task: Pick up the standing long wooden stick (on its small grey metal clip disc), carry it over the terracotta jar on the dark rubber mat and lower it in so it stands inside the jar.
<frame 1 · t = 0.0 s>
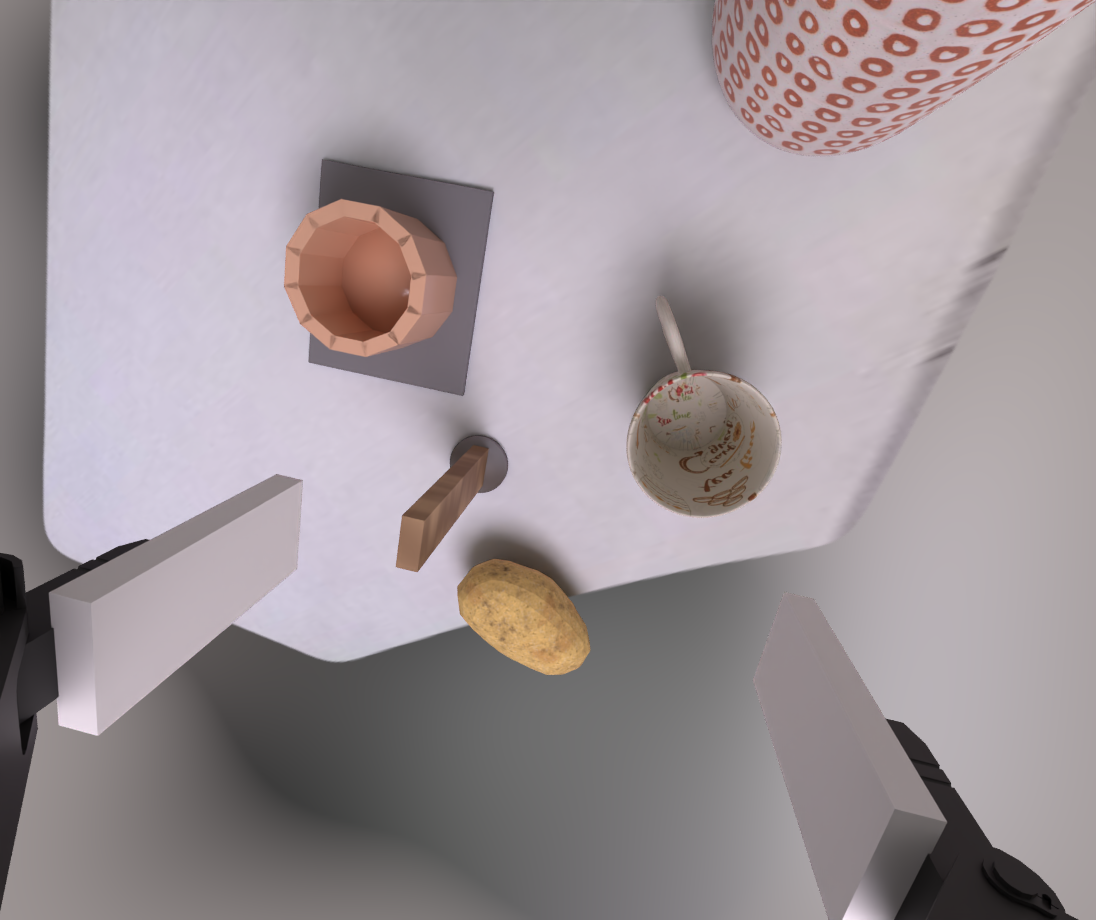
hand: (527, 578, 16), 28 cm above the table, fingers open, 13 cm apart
potato: (533, 593, 48), on the table
jar: (394, 282, 42), resting on mat
mug: (677, 383, 41), on the table
long wooden stick: (479, 463, 45), on the table
mat: (397, 282, 42), on the table
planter: (815, 50, 35), on the table
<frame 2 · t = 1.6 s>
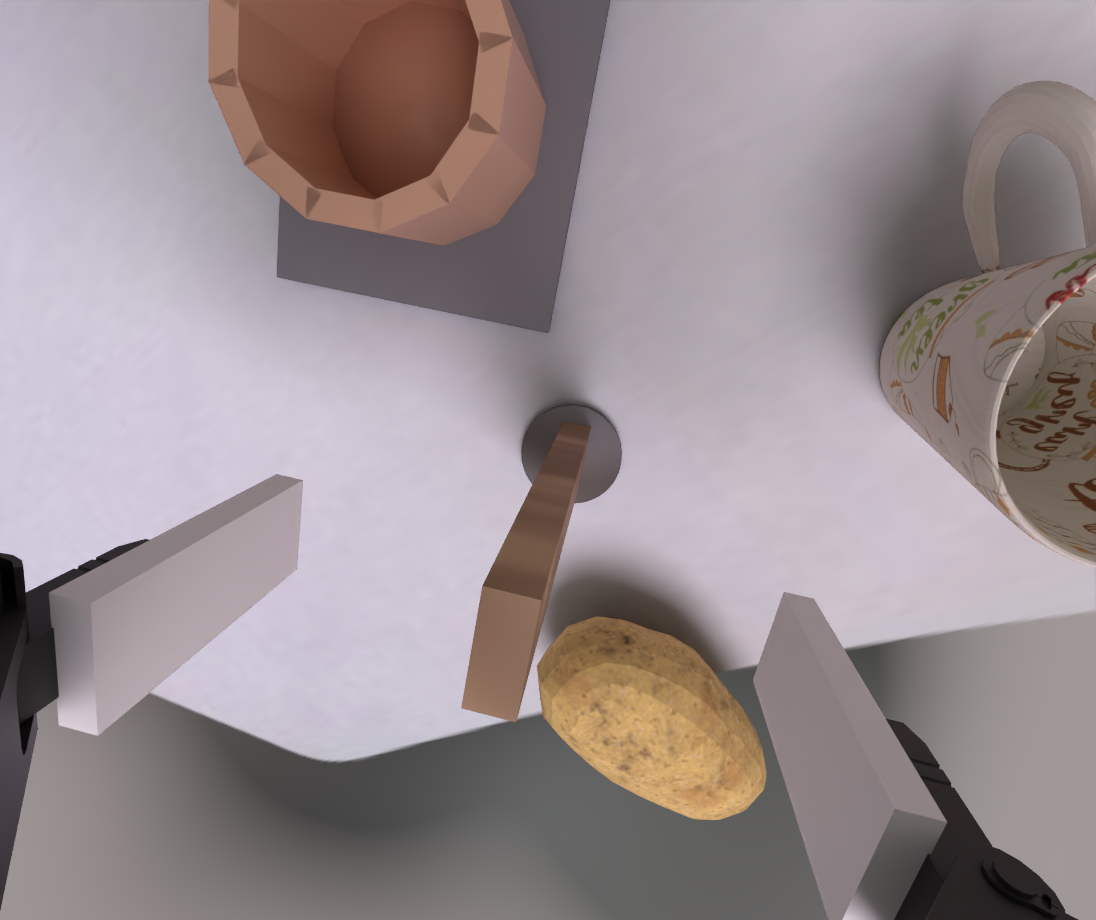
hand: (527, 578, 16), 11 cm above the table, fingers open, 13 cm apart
potato: (650, 667, 29), on the table
jar: (429, 120, 23), resting on mat
mug: (947, 306, 23), on the table
long wooden stick: (571, 453, 26), on the table
mat: (433, 123, 23), on the table
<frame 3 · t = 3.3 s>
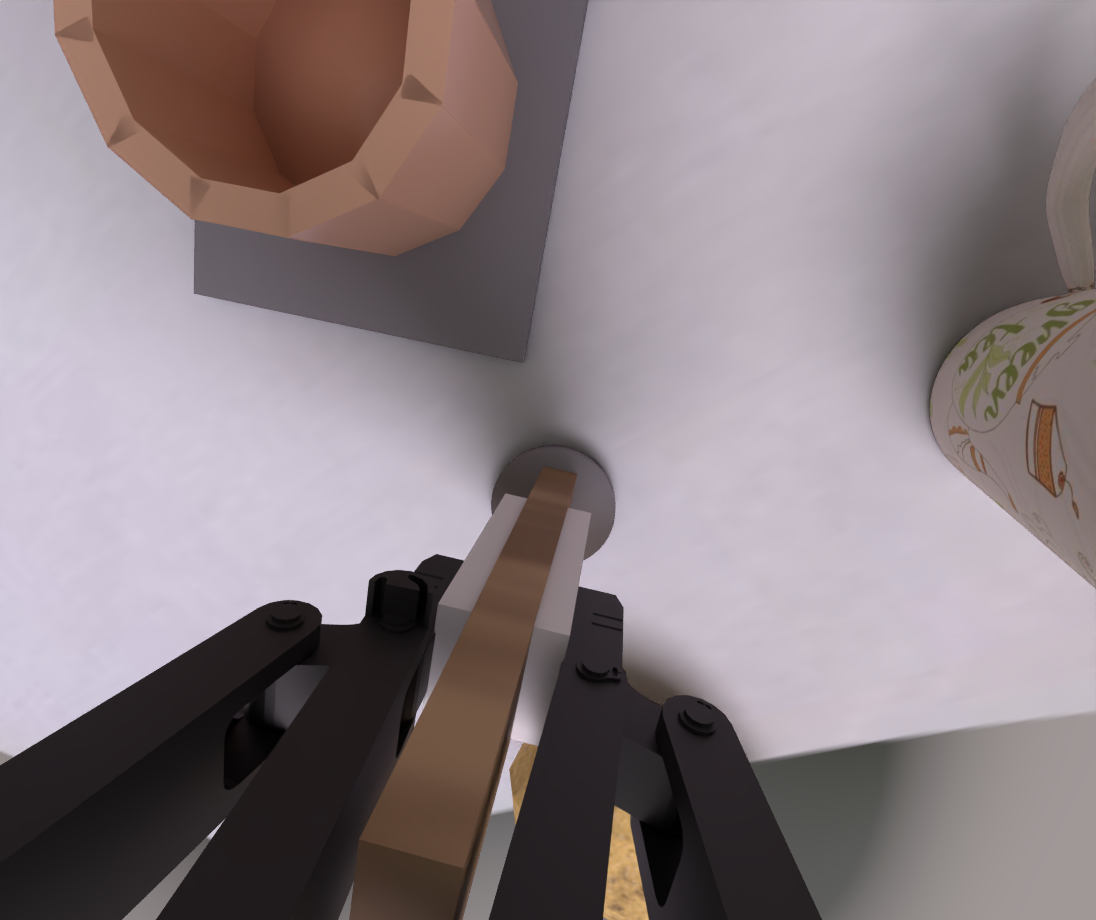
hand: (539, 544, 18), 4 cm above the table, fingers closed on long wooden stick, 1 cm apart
potato: (649, 756, 24), on the table
jar: (375, 102, 18), resting on mat
mug: (1014, 332, 18), on the table
long wooden stick: (554, 504, 21), on the table, touching gripper
mat: (380, 106, 19), on the table
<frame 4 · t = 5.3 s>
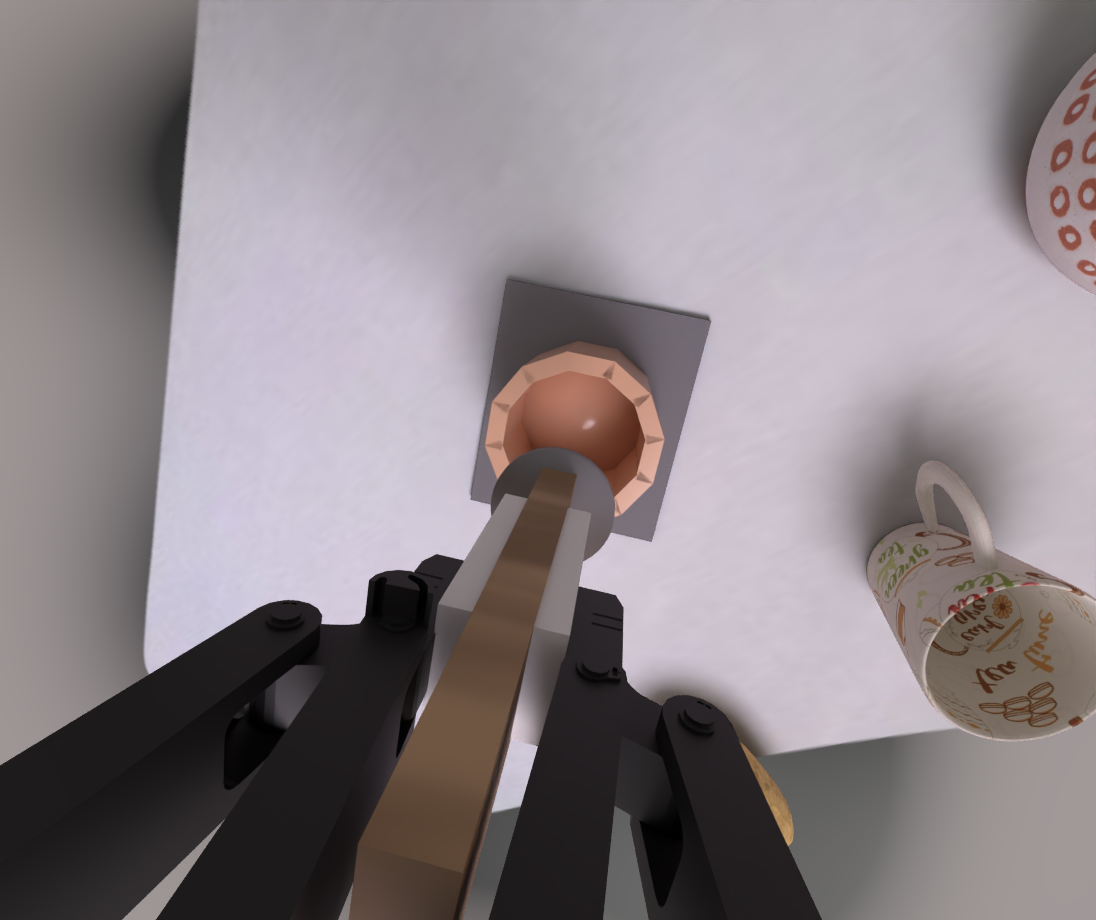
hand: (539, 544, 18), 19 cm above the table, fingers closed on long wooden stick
potato: (710, 751, 42), on the table
jar: (582, 416, 36), resting on mat
mug: (909, 535, 36), on the table
long wooden stick: (553, 505, 21), point 16 cm above the table, touching gripper
mat: (582, 415, 36), on the table
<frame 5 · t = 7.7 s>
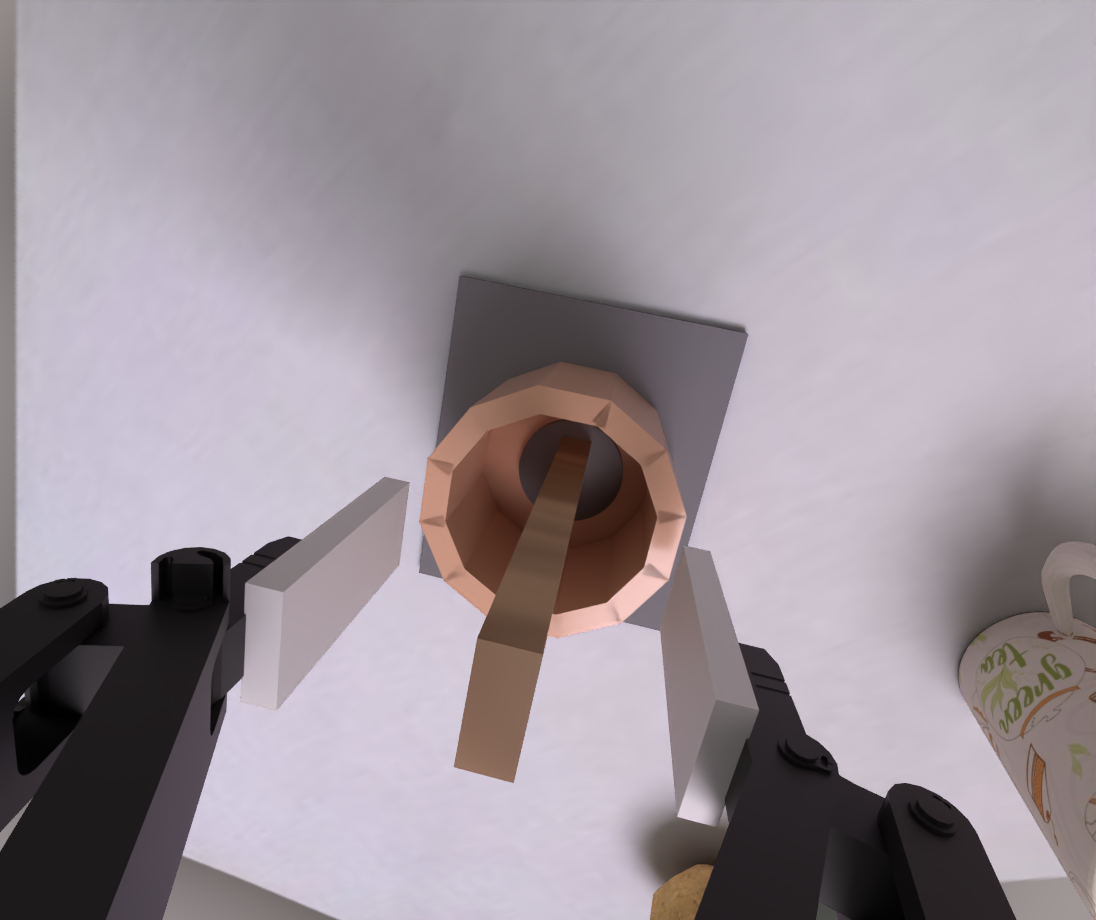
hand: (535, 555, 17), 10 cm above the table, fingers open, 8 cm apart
potato: (739, 892, 32), on the table
jar: (567, 464, 26), resting on mat
mug: (1019, 627, 26), on the table
long wooden stick: (571, 468, 25), point 1 cm above the table, touching jar
mat: (568, 462, 26), on the table
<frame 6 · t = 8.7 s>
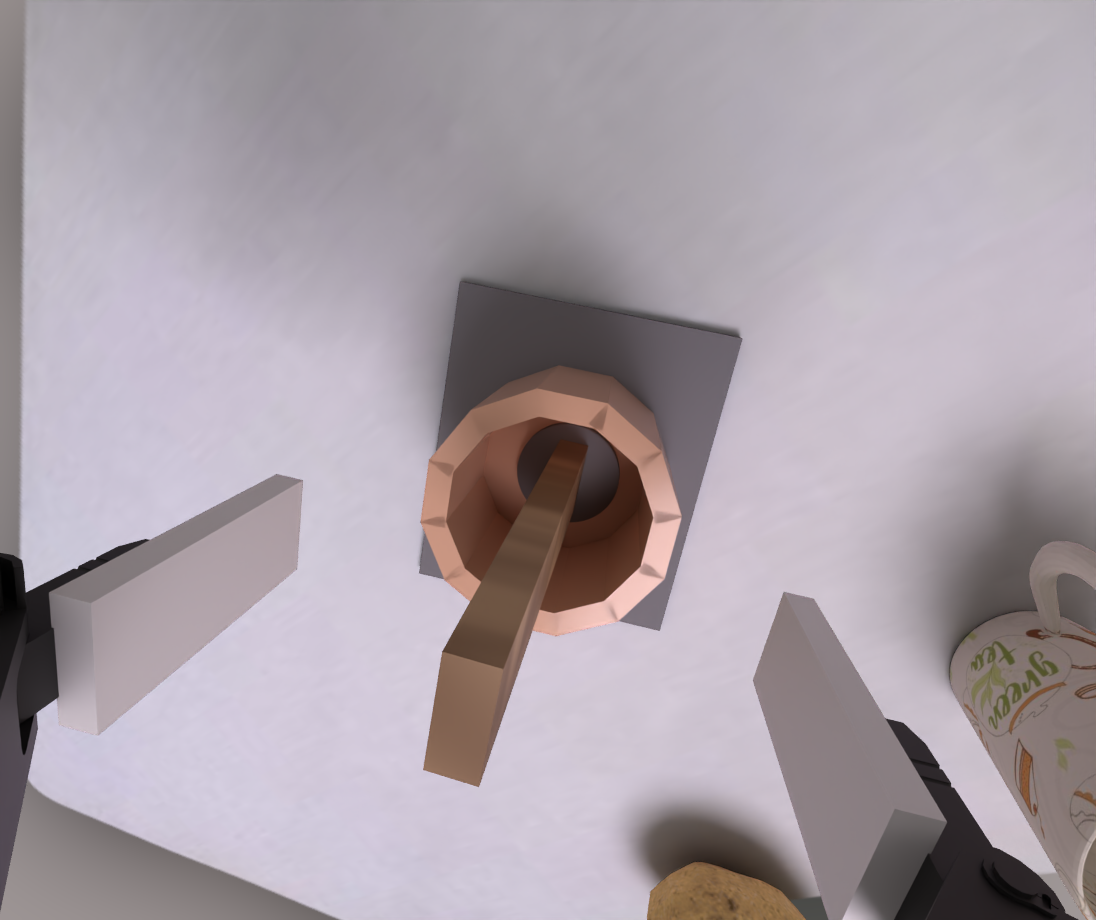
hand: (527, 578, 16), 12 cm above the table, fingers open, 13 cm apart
potato: (736, 890, 32), on the table
jar: (565, 466, 26), resting on mat
mug: (1009, 626, 26), on the table
long wooden stick: (568, 471, 26), point 1 cm above the table, touching jar
mat: (566, 464, 27), on the table
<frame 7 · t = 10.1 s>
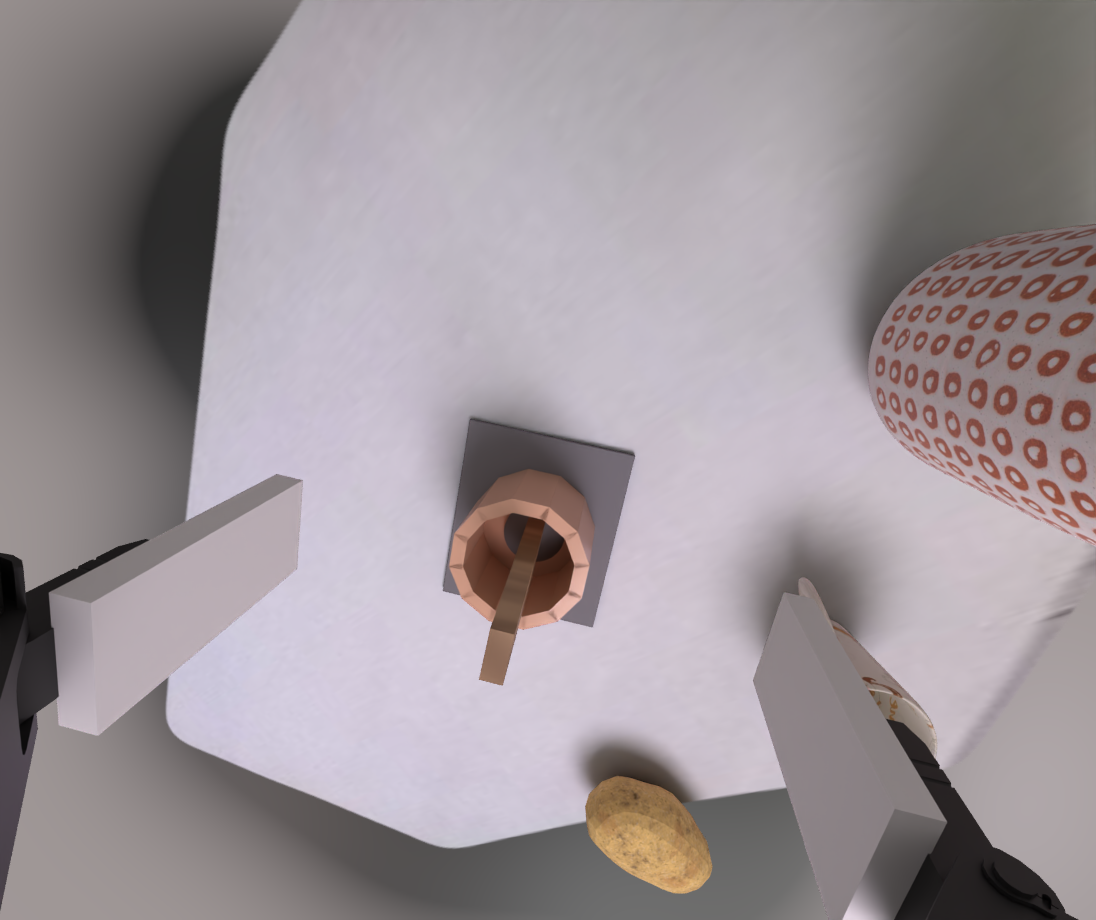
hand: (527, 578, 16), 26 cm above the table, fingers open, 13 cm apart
potato: (648, 797, 50), on the table
jar: (533, 527, 44), resting on mat
mug: (802, 624, 44), on the table
long wooden stick: (534, 531, 43), point 1 cm above the table, touching jar
mat: (534, 525, 44), on the table
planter: (953, 353, 37), on the table
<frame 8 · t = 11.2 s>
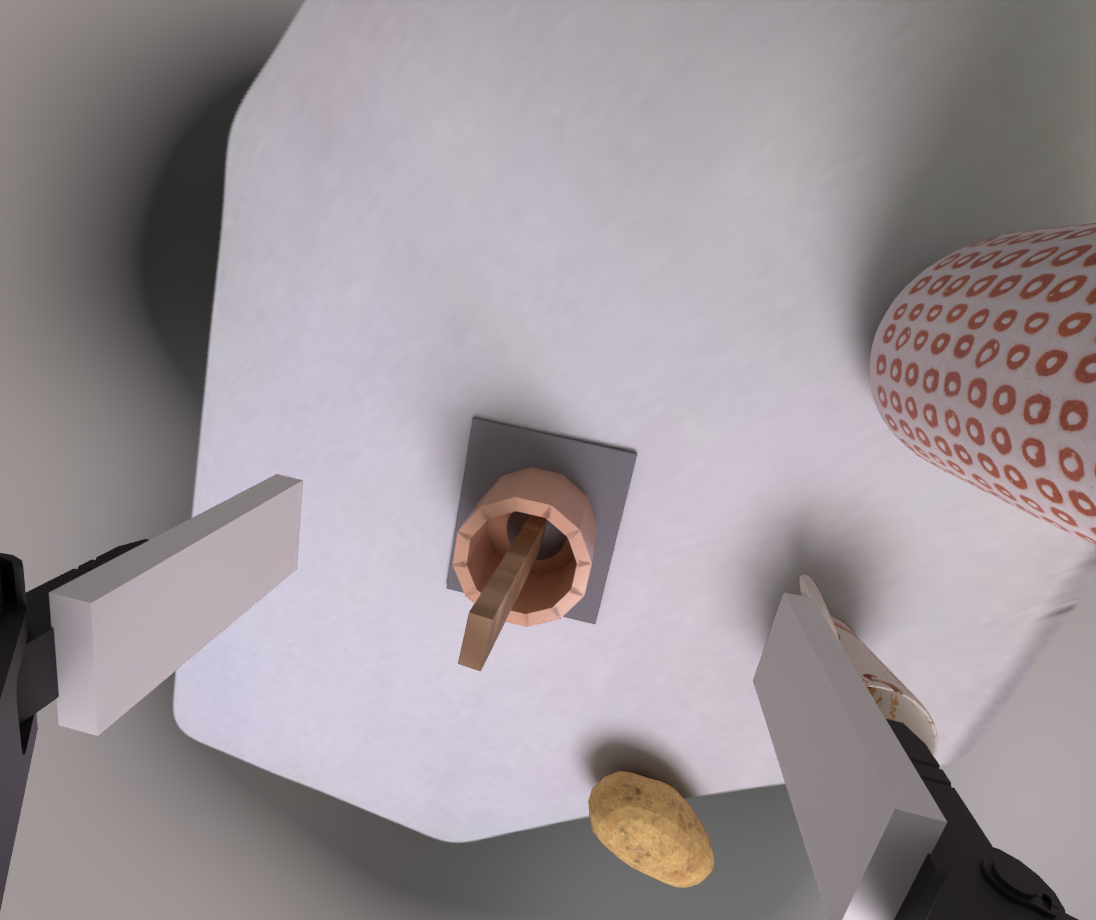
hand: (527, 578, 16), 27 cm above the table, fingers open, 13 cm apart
potato: (650, 792, 50), on the table
jar: (536, 525, 44), resting on mat
mug: (803, 621, 44), on the table
long wooden stick: (537, 529, 43), point 1 cm above the table, touching jar
mat: (537, 523, 44), on the table
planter: (955, 350, 37), on the table
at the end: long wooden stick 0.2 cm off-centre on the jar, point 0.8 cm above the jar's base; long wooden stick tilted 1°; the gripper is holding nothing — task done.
